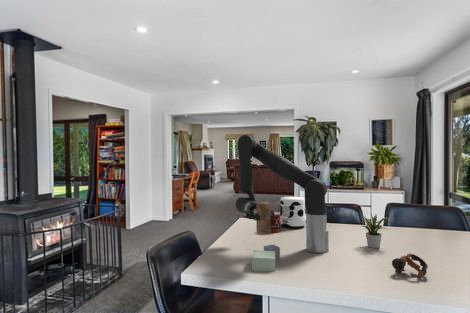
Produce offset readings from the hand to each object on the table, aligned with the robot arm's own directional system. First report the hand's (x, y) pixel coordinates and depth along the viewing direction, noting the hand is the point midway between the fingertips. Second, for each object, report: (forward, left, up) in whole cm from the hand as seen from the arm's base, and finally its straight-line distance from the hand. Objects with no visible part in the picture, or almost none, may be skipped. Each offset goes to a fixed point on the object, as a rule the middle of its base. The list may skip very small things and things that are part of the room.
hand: (265, 217), depth 111 cm
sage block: (0, -3, -20) cm, 20 cm away
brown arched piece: (-50, +16, -20) cm, 56 cm away
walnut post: (0, -3, -6) cm, 7 cm away
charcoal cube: (-6, -11, -20) cm, 23 cm away
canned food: (-22, -55, -20) cm, 62 cm away
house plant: (-60, -15, -20) cm, 65 cm away
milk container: (-38, -65, -20) cm, 78 cm away
